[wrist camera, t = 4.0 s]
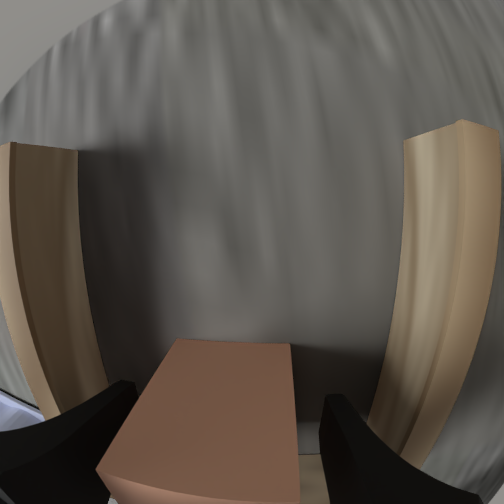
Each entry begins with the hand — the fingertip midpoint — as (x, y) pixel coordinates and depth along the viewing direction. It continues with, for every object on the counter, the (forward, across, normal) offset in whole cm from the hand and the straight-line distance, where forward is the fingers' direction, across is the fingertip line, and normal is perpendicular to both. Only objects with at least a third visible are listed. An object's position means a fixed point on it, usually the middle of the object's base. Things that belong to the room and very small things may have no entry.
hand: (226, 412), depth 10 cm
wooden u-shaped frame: (+2, 0, -2) cm, 3 cm away
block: (+2, 0, 0) cm, 2 cm away
